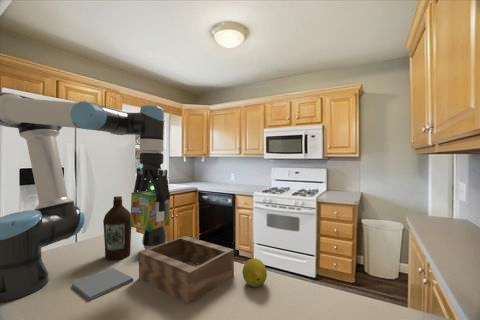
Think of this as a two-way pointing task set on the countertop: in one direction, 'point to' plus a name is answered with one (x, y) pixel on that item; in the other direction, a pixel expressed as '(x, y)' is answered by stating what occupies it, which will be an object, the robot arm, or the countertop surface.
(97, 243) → the countertop surface
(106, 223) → the olive oil
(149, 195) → the chalk box
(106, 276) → the slate mat
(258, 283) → the lemon
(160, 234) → the pump dispenser
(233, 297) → the countertop surface
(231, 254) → the walnut box
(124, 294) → the countertop surface
